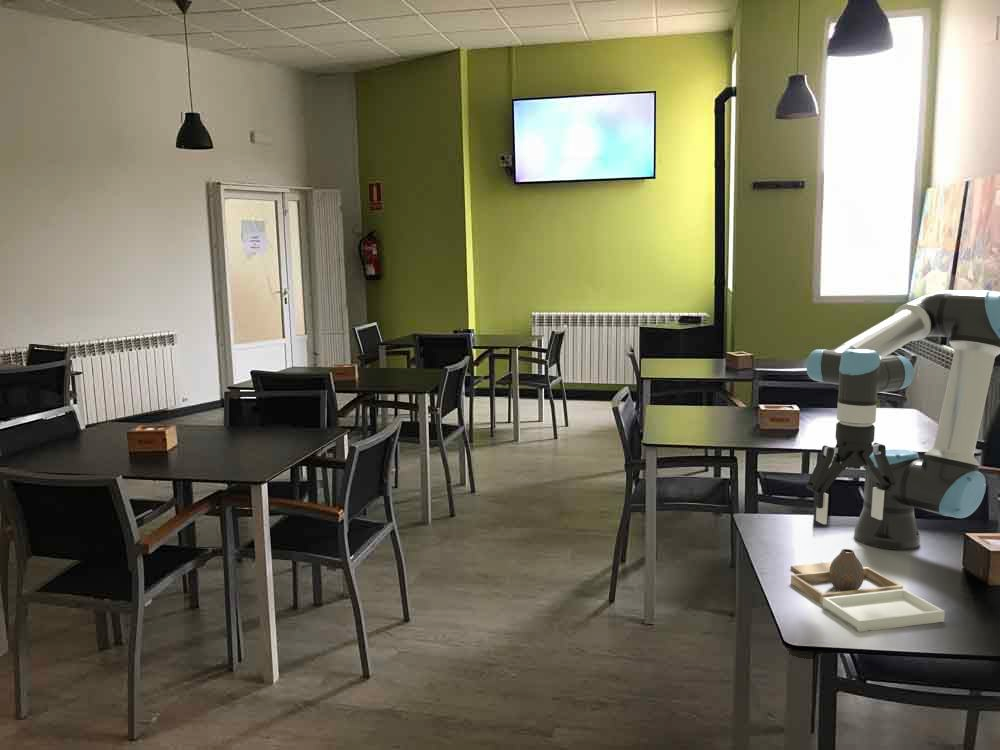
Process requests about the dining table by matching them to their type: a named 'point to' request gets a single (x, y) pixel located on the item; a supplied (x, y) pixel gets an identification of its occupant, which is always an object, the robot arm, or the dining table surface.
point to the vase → (846, 571)
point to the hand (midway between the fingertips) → (849, 520)
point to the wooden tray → (805, 578)
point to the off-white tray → (882, 610)
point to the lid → (811, 568)
